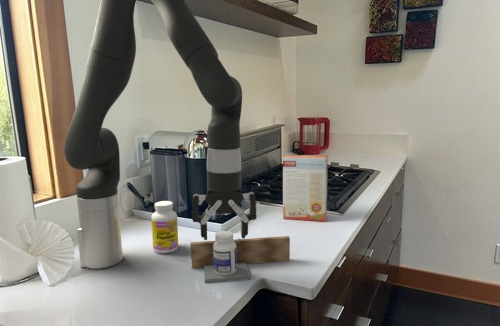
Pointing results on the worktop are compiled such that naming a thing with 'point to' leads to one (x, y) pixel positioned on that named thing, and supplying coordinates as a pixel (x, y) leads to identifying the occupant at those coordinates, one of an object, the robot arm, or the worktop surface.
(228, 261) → the pill bottle
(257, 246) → the walnut screen
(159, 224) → the supplement bottle
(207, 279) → the grey pad
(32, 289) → the worktop surface
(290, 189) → the cracker box
